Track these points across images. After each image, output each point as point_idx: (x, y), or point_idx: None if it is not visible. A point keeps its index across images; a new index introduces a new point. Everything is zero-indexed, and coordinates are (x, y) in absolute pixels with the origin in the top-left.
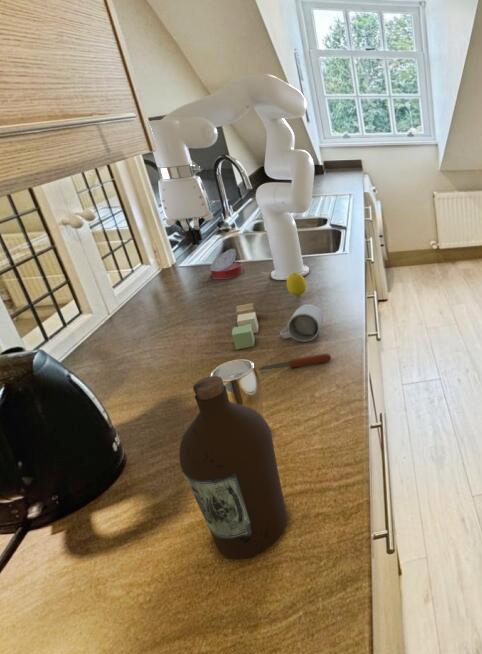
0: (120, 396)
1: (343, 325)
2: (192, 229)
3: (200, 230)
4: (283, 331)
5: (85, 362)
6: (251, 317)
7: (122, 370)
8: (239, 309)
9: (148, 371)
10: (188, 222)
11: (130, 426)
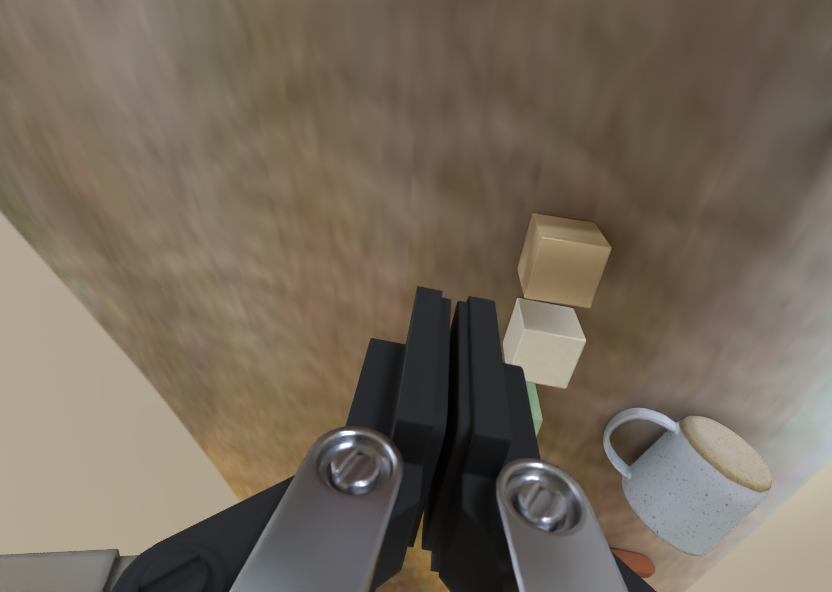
0: (227, 455)
1: (787, 450)
2: (425, 494)
3: (537, 445)
4: (619, 424)
5: (57, 245)
6: (559, 376)
7: (191, 352)
8: (541, 282)
9: (261, 392)
10: (372, 573)
11: None
